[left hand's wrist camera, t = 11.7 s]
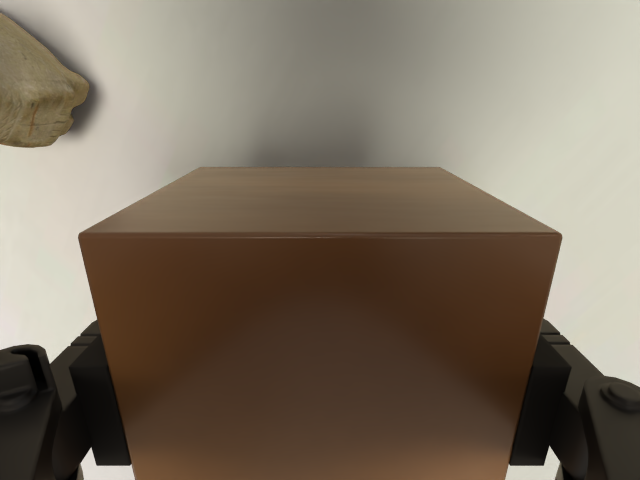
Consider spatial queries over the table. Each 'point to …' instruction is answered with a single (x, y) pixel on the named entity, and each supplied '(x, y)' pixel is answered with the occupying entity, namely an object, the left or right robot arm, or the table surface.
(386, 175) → the brown wooden bar
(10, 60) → the sculpture
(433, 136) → the table surface
